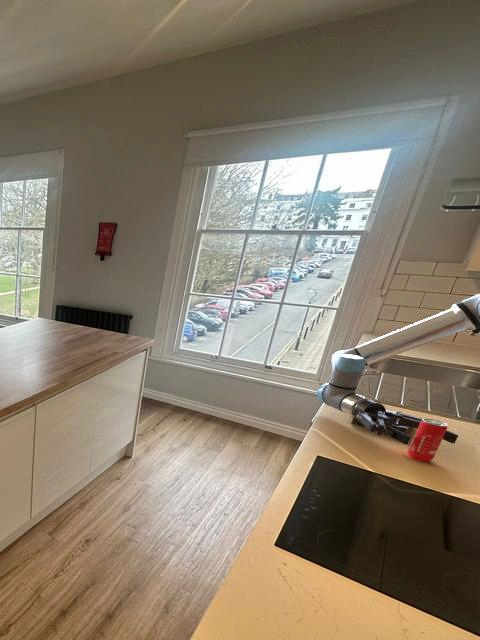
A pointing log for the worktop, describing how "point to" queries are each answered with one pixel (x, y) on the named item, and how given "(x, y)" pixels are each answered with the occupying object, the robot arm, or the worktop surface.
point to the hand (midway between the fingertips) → (432, 439)
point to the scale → (400, 428)
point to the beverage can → (427, 440)
